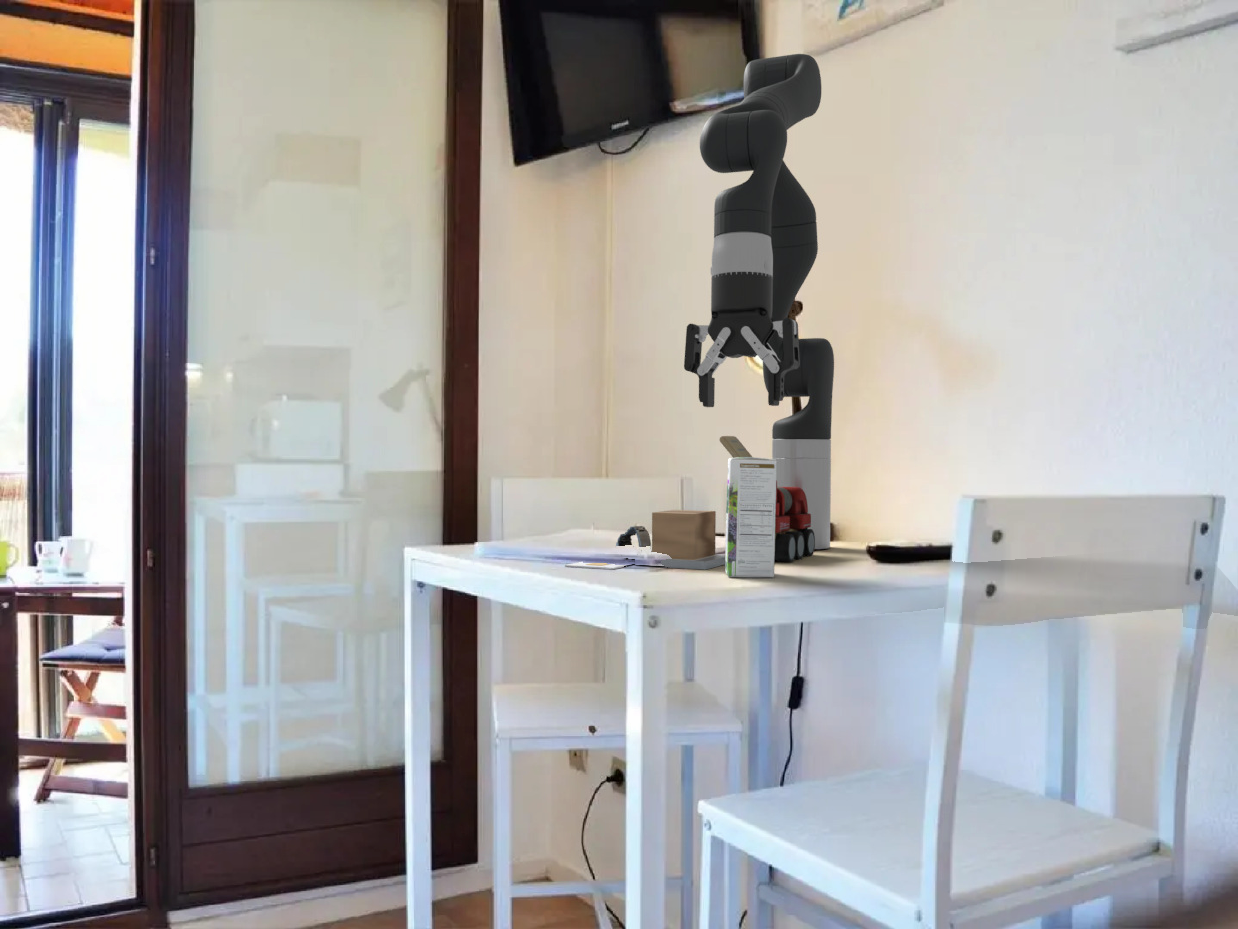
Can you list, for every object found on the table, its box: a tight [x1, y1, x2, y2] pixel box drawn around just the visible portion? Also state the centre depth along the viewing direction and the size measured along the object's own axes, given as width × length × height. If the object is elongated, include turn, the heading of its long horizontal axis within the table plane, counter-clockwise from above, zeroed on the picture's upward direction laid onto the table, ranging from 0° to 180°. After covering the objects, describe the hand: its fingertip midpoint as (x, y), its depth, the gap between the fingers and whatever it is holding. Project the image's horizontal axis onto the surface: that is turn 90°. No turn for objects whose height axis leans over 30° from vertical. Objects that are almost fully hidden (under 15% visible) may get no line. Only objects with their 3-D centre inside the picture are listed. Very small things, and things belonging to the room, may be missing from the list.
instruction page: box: [564, 561, 625, 570], centre depth 139 cm, size 9×7×1 cm
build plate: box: [661, 554, 725, 571], centre depth 141 cm, size 10×10×1 cm
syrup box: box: [724, 456, 776, 578], centre depth 128 cm, size 6×6×14 cm
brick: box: [651, 509, 717, 560], centre depth 141 cm, size 8×6×6 cm
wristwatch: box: [615, 525, 652, 548], centre depth 147 cm, size 3×5×5 cm
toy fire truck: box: [719, 435, 815, 563], centre depth 152 cm, size 11×16×18 cm
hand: (740, 406), depth 129 cm, fingers open, 8 cm apart
